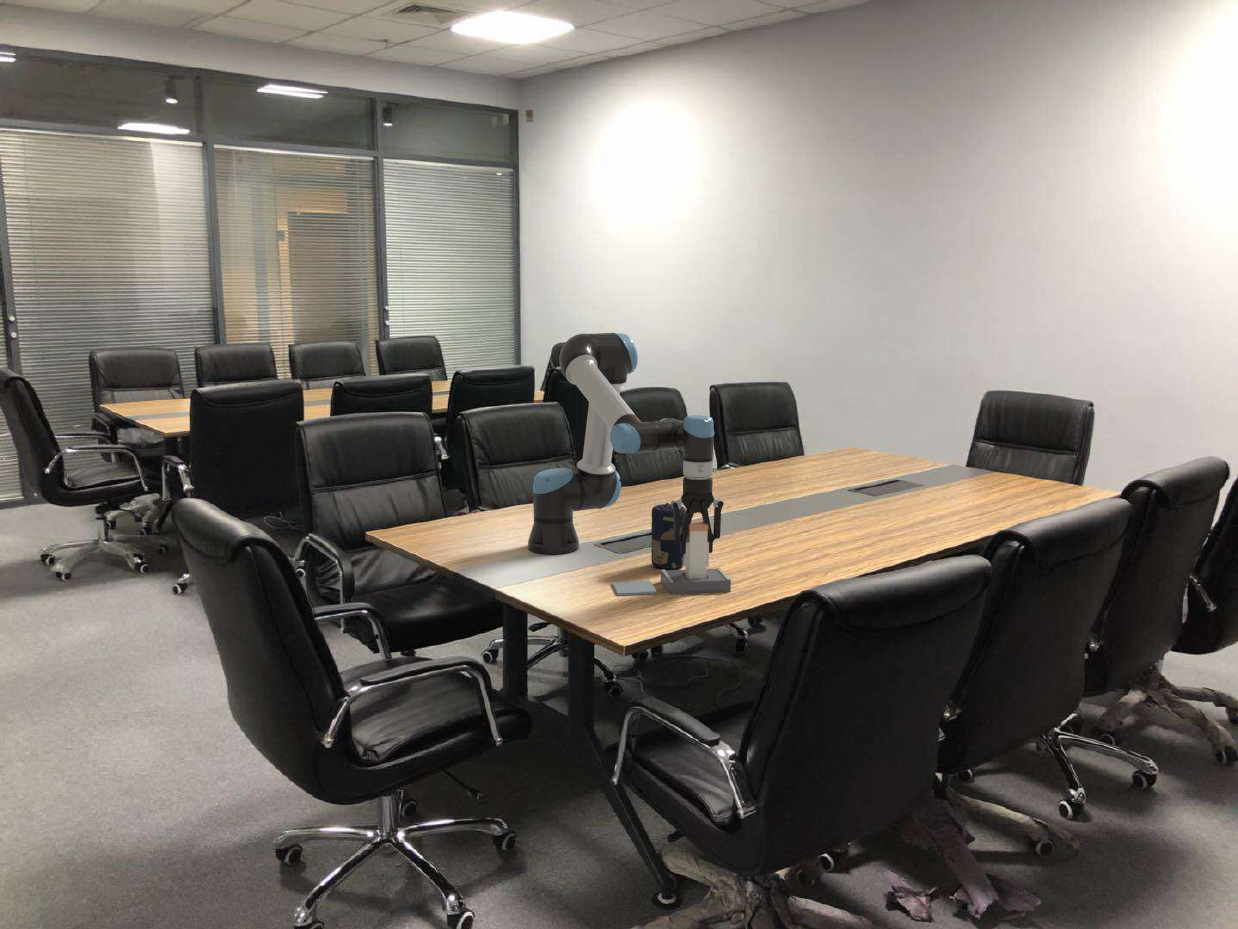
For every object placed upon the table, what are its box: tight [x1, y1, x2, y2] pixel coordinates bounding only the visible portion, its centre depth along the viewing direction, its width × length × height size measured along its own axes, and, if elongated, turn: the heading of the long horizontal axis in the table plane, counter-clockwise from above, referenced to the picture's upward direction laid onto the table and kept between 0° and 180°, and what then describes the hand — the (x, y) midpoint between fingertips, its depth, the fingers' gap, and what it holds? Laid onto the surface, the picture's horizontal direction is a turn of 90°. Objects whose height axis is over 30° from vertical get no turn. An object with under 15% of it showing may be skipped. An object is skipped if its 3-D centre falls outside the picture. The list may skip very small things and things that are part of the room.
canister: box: [650, 502, 686, 570], centre depth 269 cm, size 10×10×18 cm
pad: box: [611, 579, 658, 596], centre depth 249 cm, size 10×10×1 cm
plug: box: [685, 519, 708, 579], centre depth 250 cm, size 5×5×16 cm
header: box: [660, 566, 732, 595], centre depth 251 cm, size 16×11×3 cm
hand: (696, 565), depth 251 cm, fingers closed on plug, 4 cm apart
